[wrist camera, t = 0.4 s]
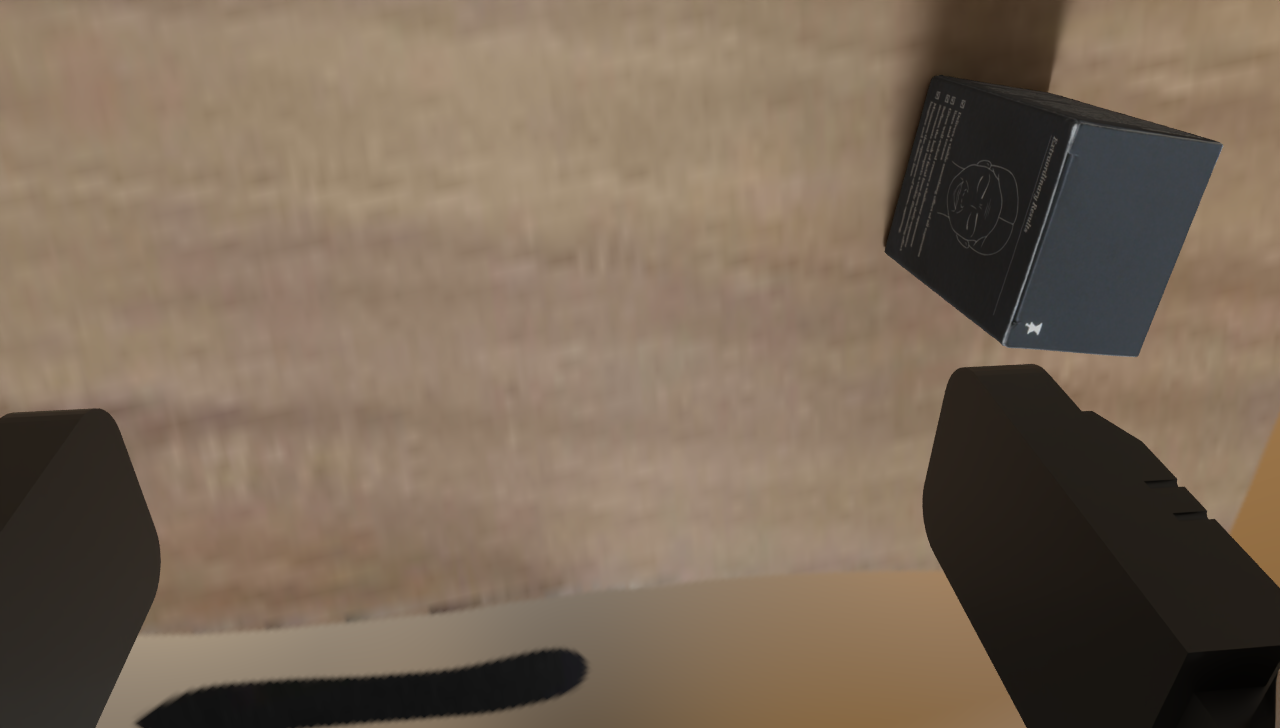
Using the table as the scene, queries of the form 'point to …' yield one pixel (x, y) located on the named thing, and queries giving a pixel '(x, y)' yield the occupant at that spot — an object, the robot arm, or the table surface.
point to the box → (1046, 214)
